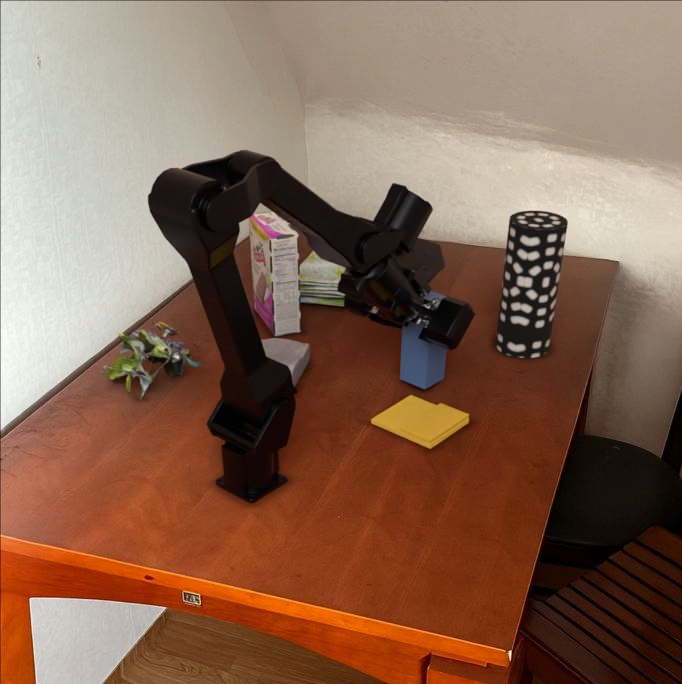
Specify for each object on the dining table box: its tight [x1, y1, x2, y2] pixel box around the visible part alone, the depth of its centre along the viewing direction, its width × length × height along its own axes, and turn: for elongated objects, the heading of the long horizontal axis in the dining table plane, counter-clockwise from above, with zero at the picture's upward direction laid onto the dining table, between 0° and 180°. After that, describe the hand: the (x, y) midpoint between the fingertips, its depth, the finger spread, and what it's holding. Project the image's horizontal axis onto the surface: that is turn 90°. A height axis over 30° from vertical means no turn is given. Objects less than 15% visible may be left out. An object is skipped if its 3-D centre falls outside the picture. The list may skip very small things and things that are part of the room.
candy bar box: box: [248, 211, 302, 337], centre depth 149 cm, size 11×5×16 cm, turn 22°
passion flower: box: [100, 320, 202, 401], centre depth 134 cm, size 11×11×12 cm
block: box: [399, 290, 448, 390], centre depth 132 cm, size 5×5×12 cm
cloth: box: [370, 394, 470, 450], centre depth 128 cm, size 9×10×1 cm
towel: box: [300, 250, 346, 308], centre depth 164 cm, size 18×21×5 cm
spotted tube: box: [494, 210, 569, 359], centre depth 142 cm, size 8×8×20 cm
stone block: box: [261, 337, 311, 388], centre depth 138 cm, size 12×5×10 cm
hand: (430, 334), depth 133 cm, fingers closed on block, 4 cm apart
